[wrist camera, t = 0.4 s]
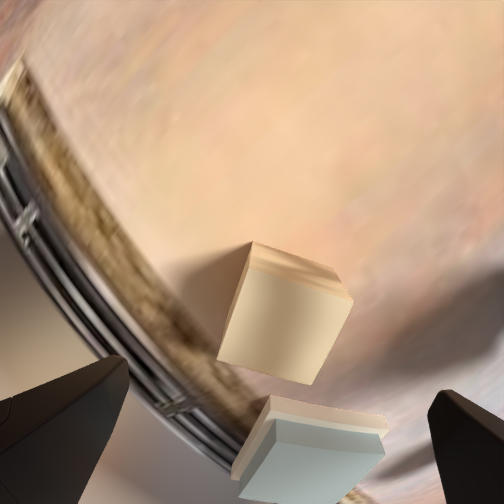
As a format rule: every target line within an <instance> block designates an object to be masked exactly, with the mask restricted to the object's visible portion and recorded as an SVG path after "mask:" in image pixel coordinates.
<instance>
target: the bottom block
mask: <svg viewBox="0 0 504 504" xmlns="http://www.w3.org/2000/svg"><path fill="white" fill-rule="evenodd" d="M276 418H278V419H282V420H287V421H292V422H297V423H302V424H308V425H313V426H319V427H325V428H332V429H339V430H346V431H354V432H363V433H372V434H379V437H380V440H382V438H383V437H384V436H385V435H386V433H387V432H388V431H389V430H390V429H389V426H388V424H387V421H386V419H385V417H384V415H377V414H369V413H362V412H356V411H349V410H343V409H338V408H332V407H327V406H321V405H316V404H311V403H306V402H302V401H297V400H293V399H288V398H284V397H280V396H275V395H271V394H270V396H269V398H268V400H267V402H266V404H265V406H264V408H263V410H262V412H261V414H260V415H259V417H258V419H257V421H256V423H255V425H254V427H253V428H252V430H251V432H250V434H249V436H248V438H247V439H246V441H245V443H244V445H243V447H242V448H241V450H240V452H239V454H238V455H237V457H236V459H235V461H234V462H233V464H232V468H231V476H230V479H232V480H237V481H240V476H241V475H242V473H243V472H244V470H245V469H246V467H247V465H248V464H249V462H250V461H251V459H252V457H253V456H254V454H255V453H256V451H257V449H258V448H259V446H260V444H261V443H262V441H263V439H264V438H265V436H266V434H267V433H268V431H269V429H270V427H271V426H272V424H273V422H274V421H275V419H276Z"/></svg>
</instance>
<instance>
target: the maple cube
mask: <svg viewBox="0 0 504 504" xmlns="http://www.w3.org/2000/svg"><path fill="white" fill-rule="evenodd" d="M353 303H354V301H353V299H352V298H351V296H350V295H349V293H348V291H347V290H346V288H345V287H344V285H343V284H342V282H341V280H340V279H339V277H338V276H337V274H336V273H335V271H334V269H333V268H331V267H328V266H325V265H322V264H319V263H316V262H313V261H310V260H307V259H304V258H301V257H298V256H295V255H292V254H289V253H286V252H283V251H280V250H278V249H275V248H272V247H269V246H266V245H263V244H260V243H257V242H254V241H253V243H252V245H251V248H250V251H249V254H248V257H247V260H246V263H245V266H244V269H243V272H242V275H241V277H240V280H239V283H238V286H237V289H236V292H235V295H234V298H233V301H232V304H231V307H230V309H229V312H228V315H227V319H226V323H225V327H224V331H223V335H222V340H221V344H220V348H219V352H218V356H217V360H219V361H222V362H225V363H229V364H232V365H235V366H239V367H242V368H246V369H249V370H253V371H256V372H260V373H264V374H267V375H271V376H275V377H279V378H283V379H287V380H291V381H295V382H299V383H303V384H308V385H311V384H312V383H313V381H314V379H315V377H316V376H317V374H318V372H319V370H320V368H321V366H322V365H323V363H324V361H325V359H326V357H327V355H328V353H329V352H330V350H331V348H332V346H333V344H334V342H335V340H336V338H337V336H338V334H339V332H340V330H341V328H342V326H343V324H344V322H345V320H346V318H347V316H348V314H349V312H350V310H351V307H352V305H353Z"/></svg>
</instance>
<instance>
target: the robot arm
mask: <svg viewBox="0 0 504 504" xmlns="http://www.w3.org/2000/svg"><path fill="white" fill-rule="evenodd" d="M128 388H129V372H128V362H127V360H126V359H125V358H124V357H120V356H116V355H111V356H108V357H106V358H104V359H101V360H99V361H97V362H95V363H92V364H90V365H87V366H85V367H83V368H81V369H78V370H76V371H74V372H71V373H69V374H66V375H64V376H62V377H59V378H57V379H54V380H52V381H49V382H47V383H45V384H42V385H40V386H37V387H35V388H33V389H30V390H28V391H25V392H22V393H20V394H17V395H15V396H13V397H12V398H11V397H9V398H7V399H5V400H2V401H0V504H78V502H79V500H80V498H81V496H82V493H83V491H84V489H85V487H86V485H87V483H88V481H89V479H90V477H91V475H92V473H93V471H94V469H95V466H96V464H97V462H98V460H99V458H100V456H101V454H102V452H103V450H104V448H105V446H106V444H107V442H108V440H109V438H110V436H111V434H112V432H113V429H114V427H115V424H116V421H117V419H118V416H119V413H120V410H121V408H122V405H123V402H124V399H125V397H126V394H127V391H128ZM427 417H428V423H429V428H430V433H431V438H432V444H433V450H434V455H435V459H436V463H437V467H438V471H439V474H440V478H441V482H442V486H443V490H444V495H445V499H446V503H447V504H504V420H502V419H500V418H498V417H497V416H495V415H493V414H492V413H490V412H488V411H487V410H485V409H483V408H482V407H480V406H478V405H477V404H475V403H473V402H472V401H470V400H468V399H467V398H465V397H463V396H461V395H460V394H458V393H456V392H455V391H453V390H441V391H439V392H438V394H437V395H436V397H435V399H434V401H433V403H432V405H431V406H430V408H429V410H428V414H427Z"/></svg>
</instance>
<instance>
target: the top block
mask: <svg viewBox="0 0 504 504" xmlns="http://www.w3.org/2000/svg"><path fill="white" fill-rule="evenodd" d="M384 456H385V451H384V448H383V445H382V443H381V440H380V437H379V434H372V433H363V432H354V431H346V430H339V429H332V428H325V427H319V426H313V425H308V424H302V423H297V422H292V421H287V420H282V419H278V418H276V419H275V421H274V422H273V424H272V426H271V427H270V429H269V431H268V433H267V434H266V436H265V438H264V439H263V441H262V443H261V444H260V446H259V448H258V449H257V451H256V453H255V454H254V456H253V457H252V459H251V461H250V462H249V464H248V465H247V467H246V469H245V470H244V472H243V473H242V475H241V476H240V481H239V492H238V497H239V498H244V499H250V500H256V501H263V502H270V503H277V504H336V503H337V502H339V501H340V500H341V499H342V498H343V497H344V496H345V495H346V494H347V493H348V492H349V491H350V490H352V489H353V488H354V487H355V486H356V485H357V484H358V483H359V482H360V481H361V480H362V479H363V478H364V477H365V476H366V475H367V474H368V473H369V472H370V471H371V470H372V469H373V467H374V466H375V465H376V464H377V463H378V462H379V461H380V460H381V459H382V458H383V457H384Z"/></svg>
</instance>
